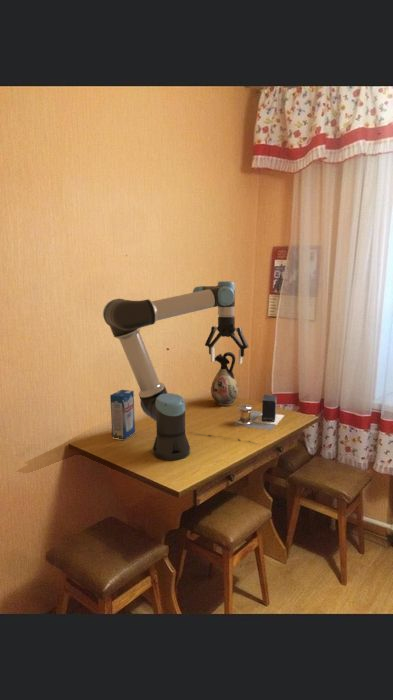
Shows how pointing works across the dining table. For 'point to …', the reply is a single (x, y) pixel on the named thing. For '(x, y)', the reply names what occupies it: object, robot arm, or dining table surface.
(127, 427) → the milk carton
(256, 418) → the board
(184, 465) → the dining table surface
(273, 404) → the small box
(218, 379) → the ceramic jug
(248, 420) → the bobbin
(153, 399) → the robot arm
